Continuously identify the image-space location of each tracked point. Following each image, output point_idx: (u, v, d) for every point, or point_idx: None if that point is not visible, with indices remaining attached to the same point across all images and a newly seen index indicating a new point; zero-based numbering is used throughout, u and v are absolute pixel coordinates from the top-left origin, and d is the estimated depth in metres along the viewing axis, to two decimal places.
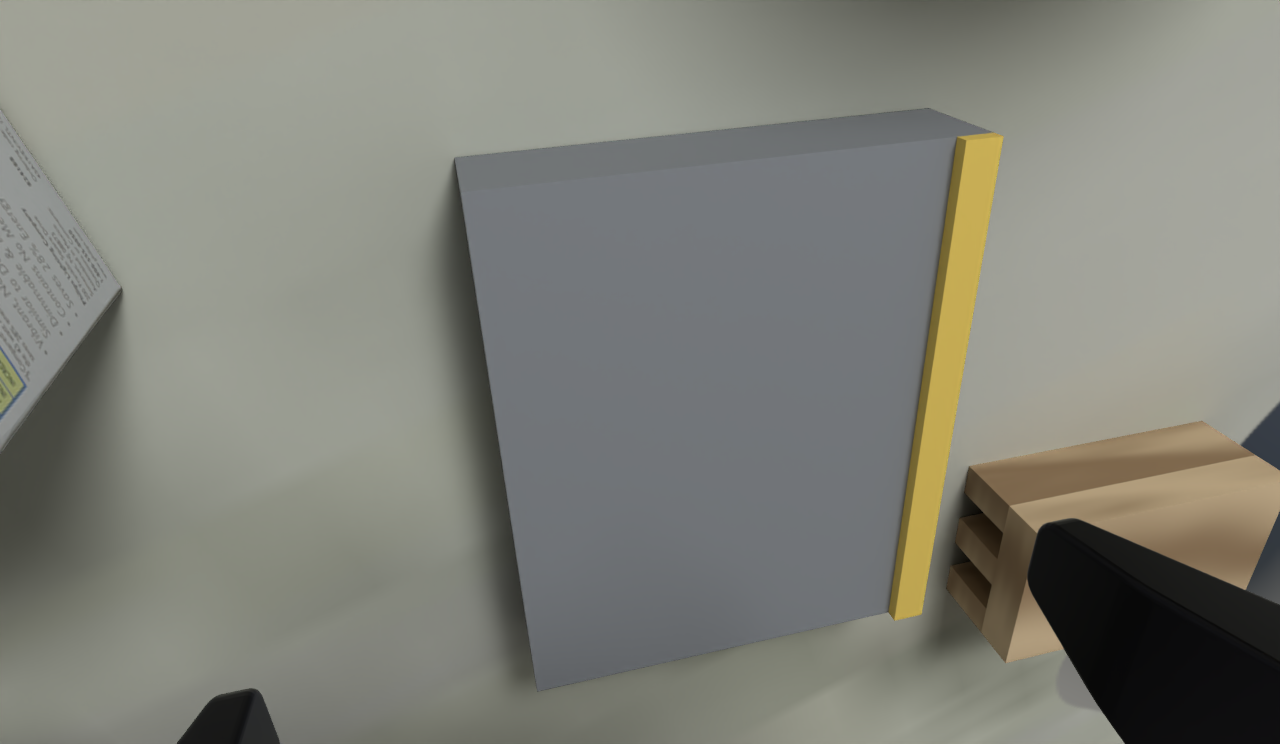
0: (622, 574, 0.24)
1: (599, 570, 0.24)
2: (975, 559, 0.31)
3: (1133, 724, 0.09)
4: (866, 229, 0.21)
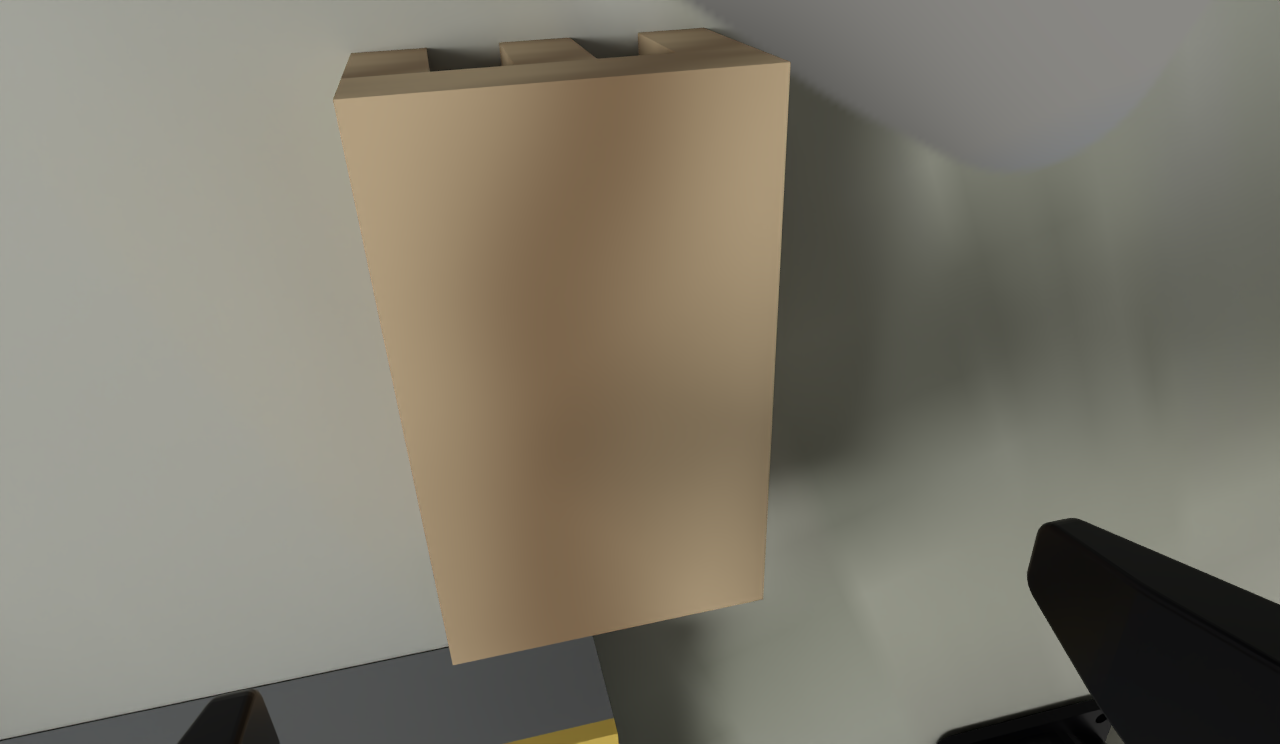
0: None
1: None
2: None
3: (1133, 724, 0.09)
4: None
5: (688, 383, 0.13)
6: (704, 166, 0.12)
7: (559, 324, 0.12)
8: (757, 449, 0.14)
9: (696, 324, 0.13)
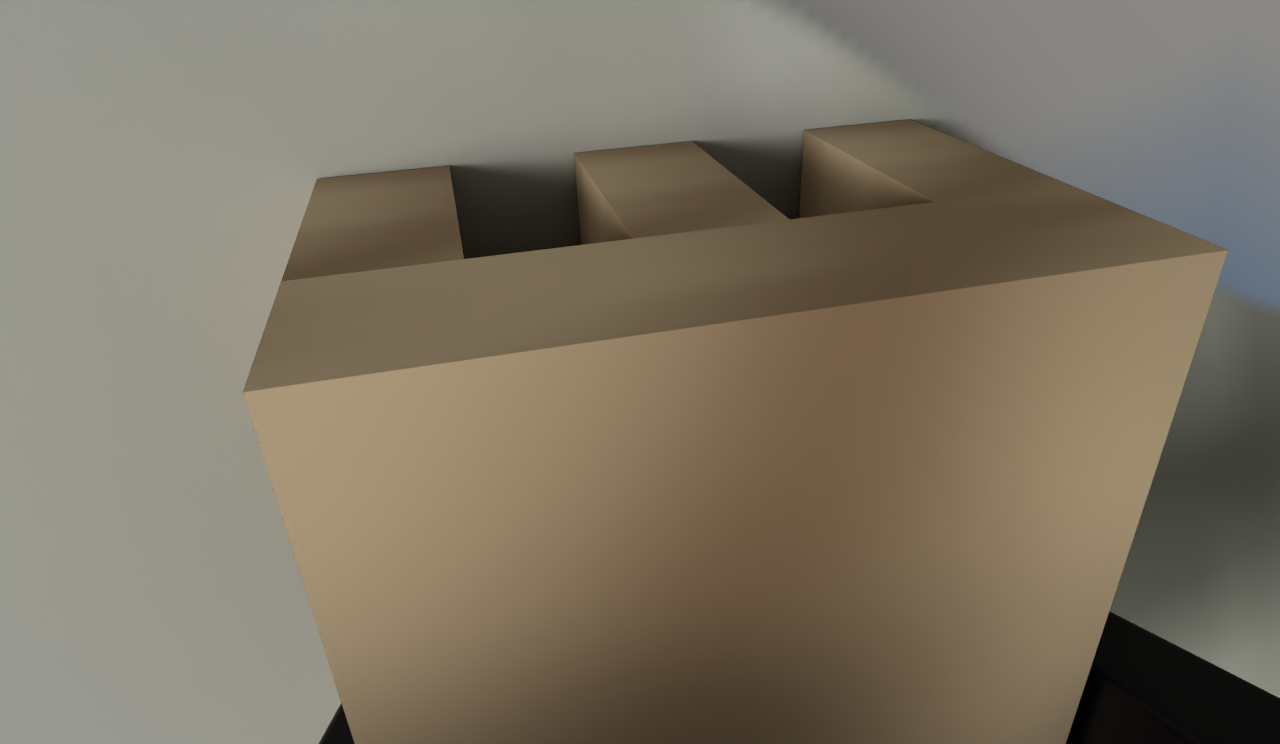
0: None
1: None
2: None
3: None
4: None
5: None
6: (1023, 448, 0.06)
7: (711, 726, 0.06)
8: None
9: (953, 694, 0.07)
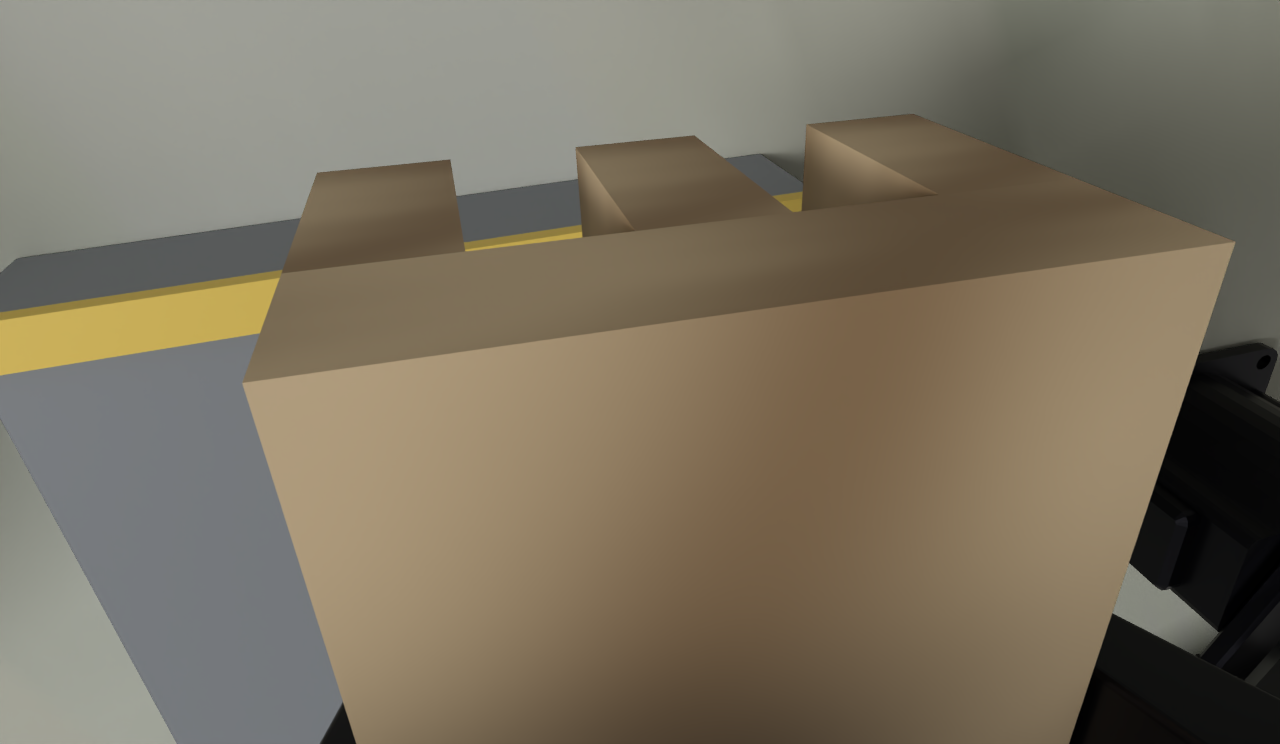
0: None
1: None
2: None
3: None
4: (146, 448, 0.16)
5: None
6: (1027, 441, 0.06)
7: (713, 723, 0.06)
8: None
9: (957, 691, 0.07)
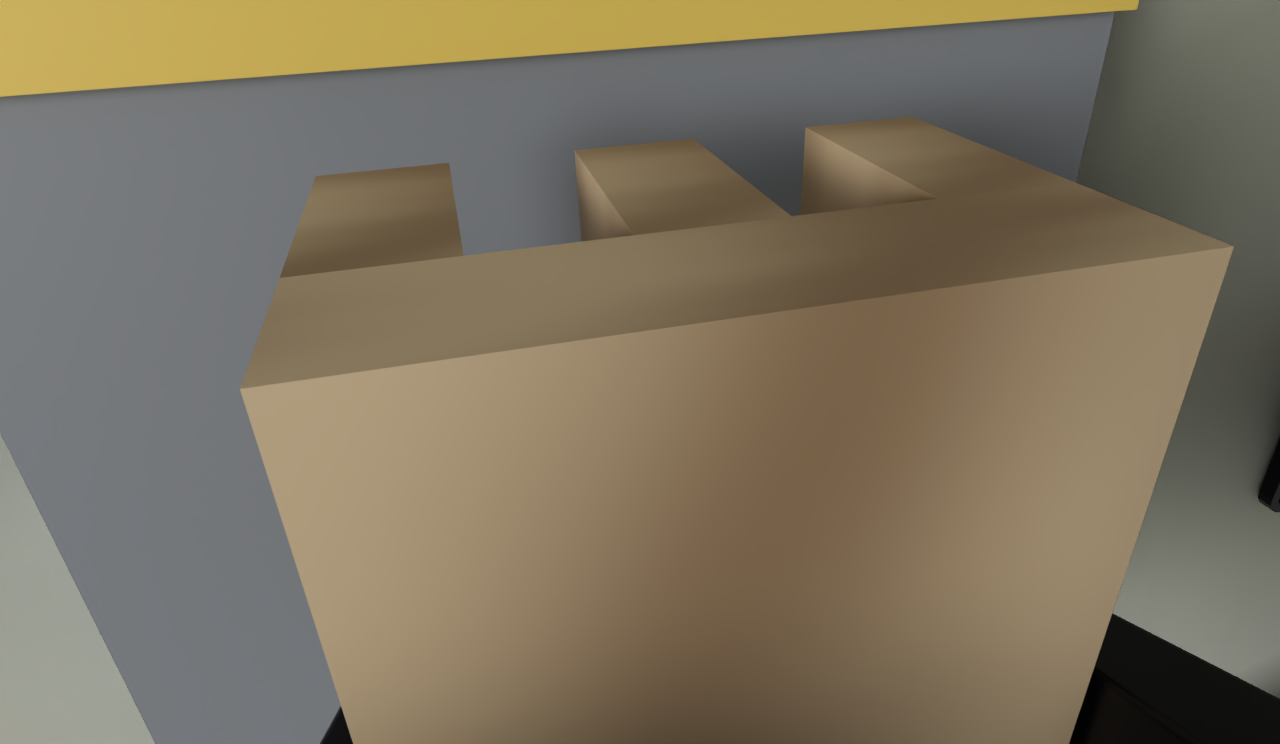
0: None
1: None
2: None
3: None
4: (120, 269, 0.10)
5: None
6: (1027, 445, 0.06)
7: (712, 727, 0.06)
8: None
9: (955, 695, 0.07)
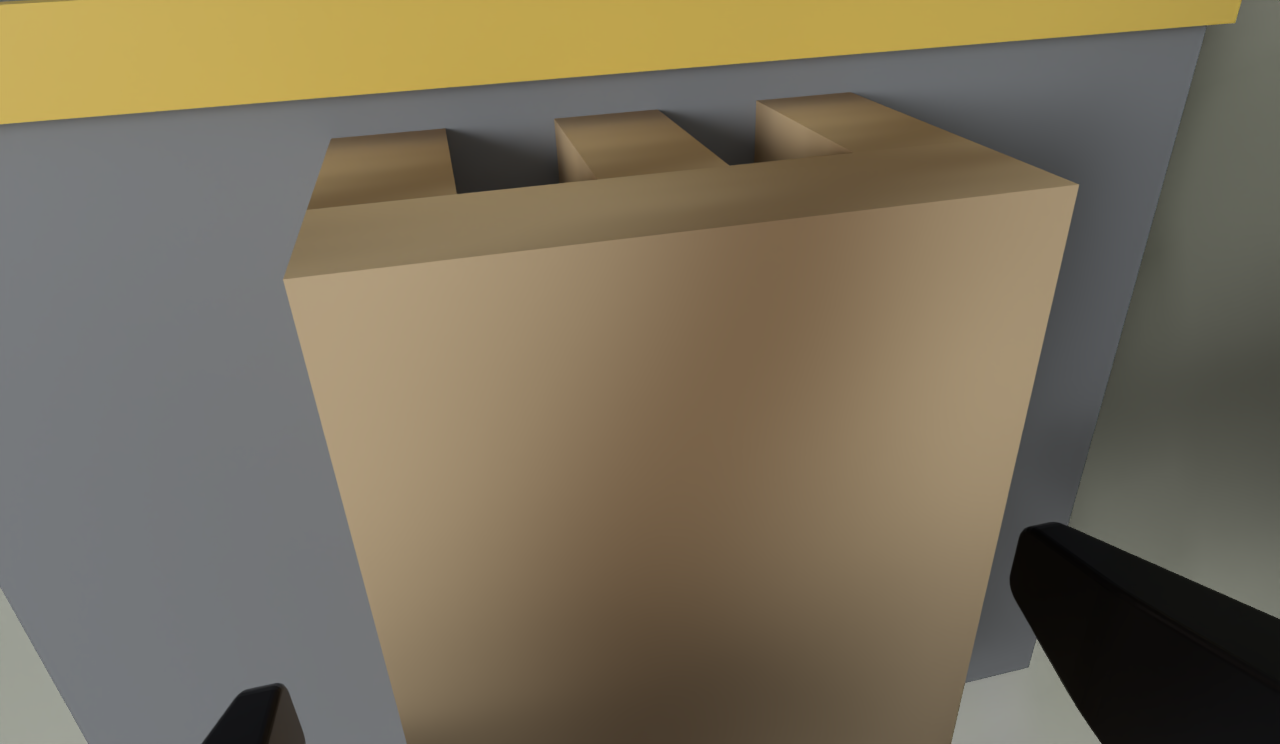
0: None
1: None
2: None
3: (1113, 729, 0.09)
4: (87, 320, 0.09)
5: (851, 653, 0.09)
6: (918, 350, 0.07)
7: (664, 593, 0.08)
8: (937, 723, 0.10)
9: (872, 576, 0.08)
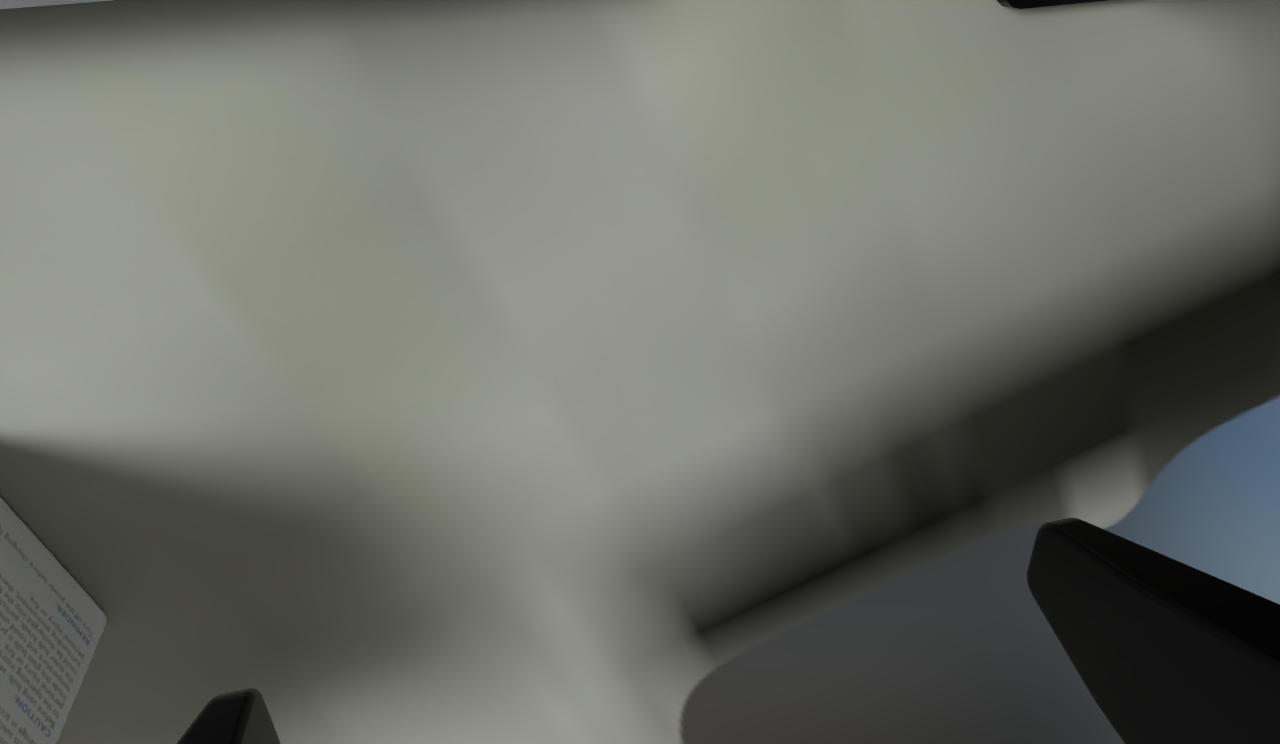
0: None
1: None
2: None
3: (1133, 724, 0.09)
4: None
5: None
6: None
7: None
8: None
9: None
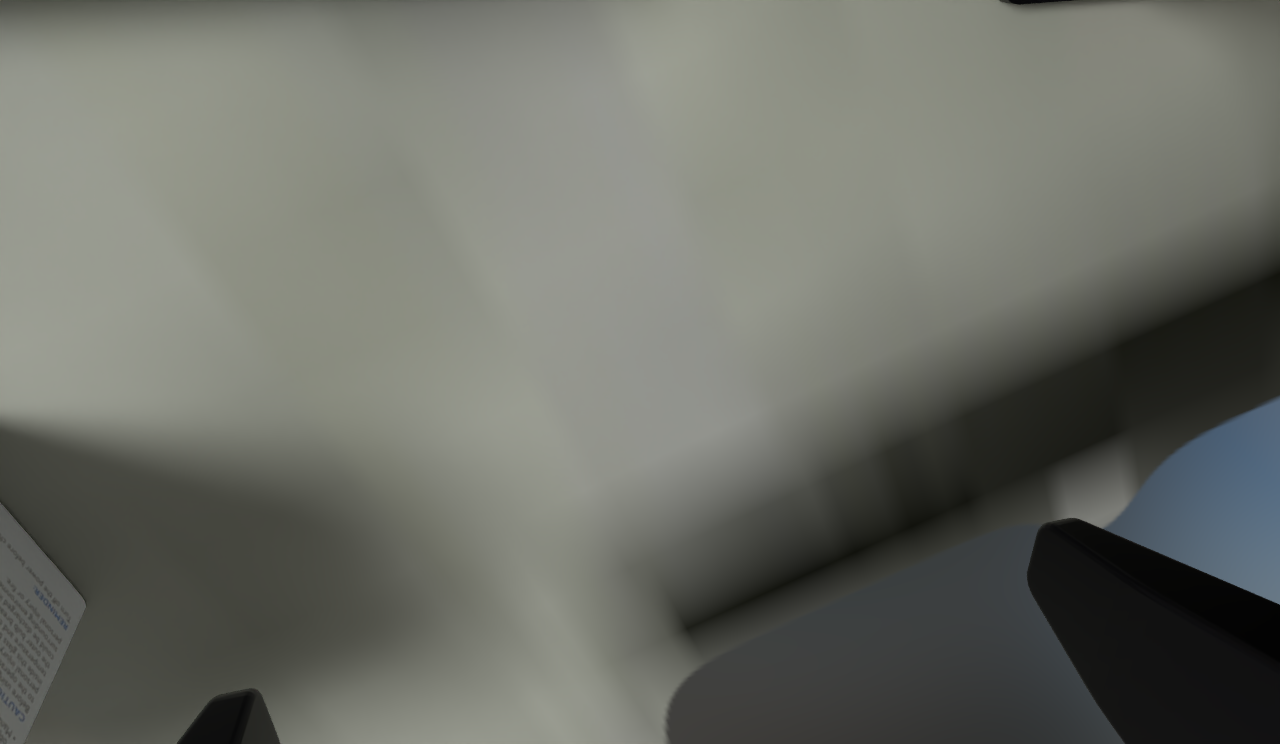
0: None
1: None
2: None
3: (1133, 724, 0.09)
4: None
5: None
6: None
7: None
8: None
9: None
